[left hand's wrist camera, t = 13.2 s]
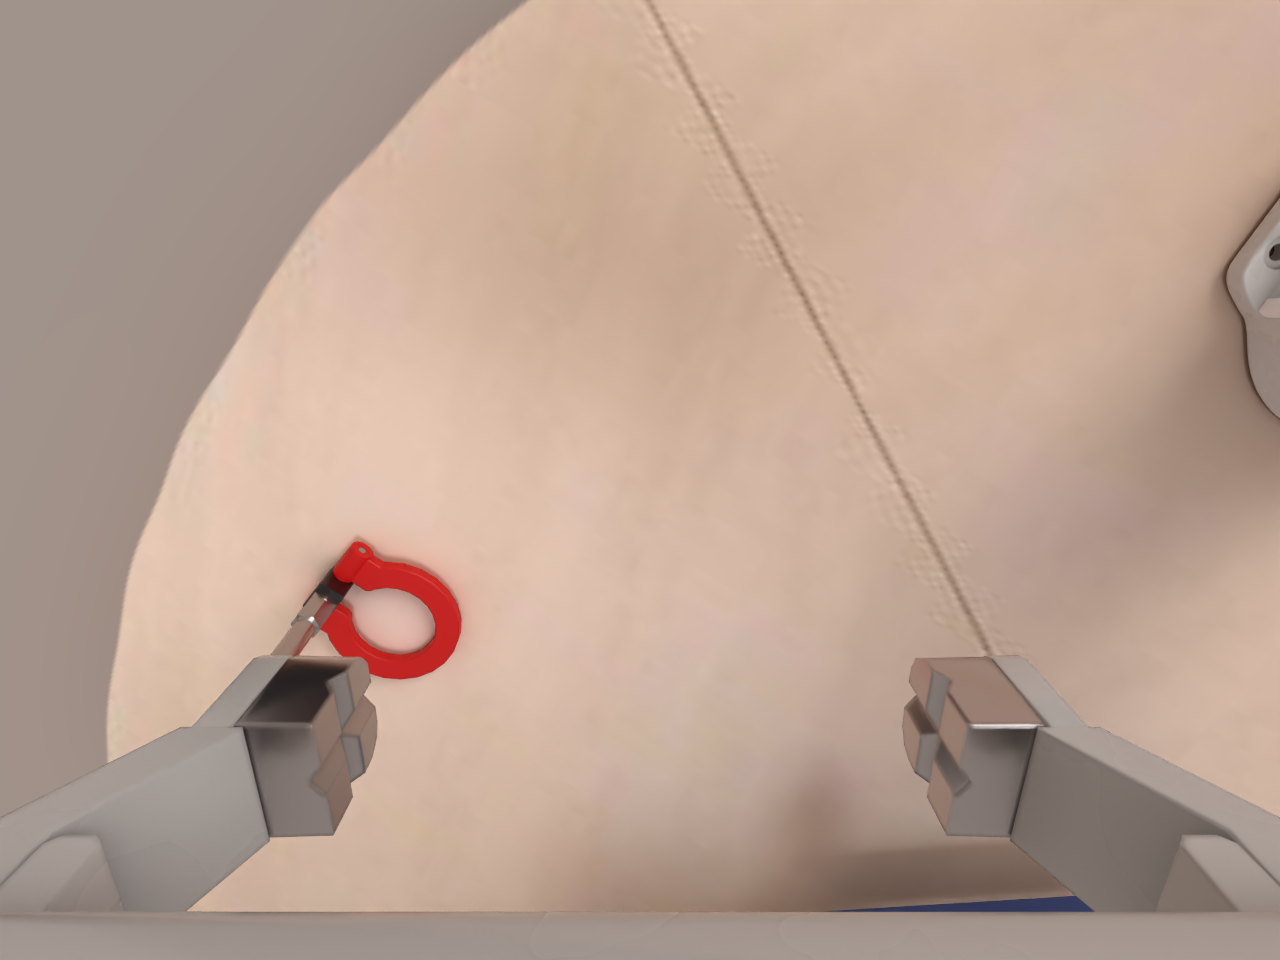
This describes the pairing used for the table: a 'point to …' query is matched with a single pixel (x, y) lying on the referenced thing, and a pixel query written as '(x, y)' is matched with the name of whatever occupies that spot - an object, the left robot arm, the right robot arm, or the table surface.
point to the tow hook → (337, 618)
